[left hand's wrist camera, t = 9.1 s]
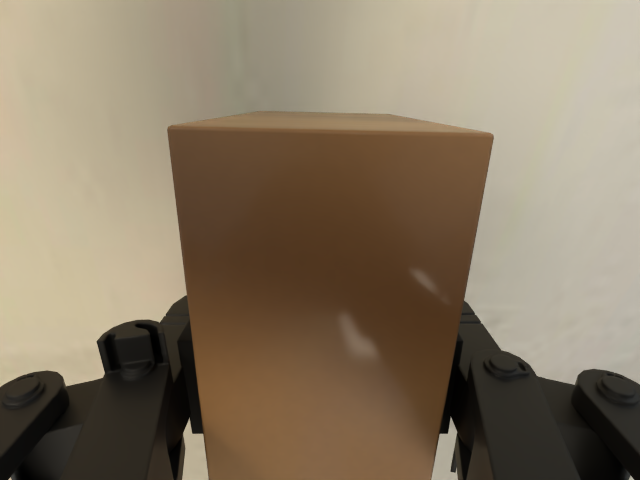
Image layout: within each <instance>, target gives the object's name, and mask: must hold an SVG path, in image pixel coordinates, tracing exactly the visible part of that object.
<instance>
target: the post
mask: <svg viewBox="0 0 640 480" xmlns="http://www.w3.org/2000/svg"><path fill="white" fill-rule="evenodd" d="M168 139H169V147H170V156H171V164H172V173H173V181H174V190H175V198H176V206H177V215H178V223H179V232H180V240H181V249H182V257H183V265H184V274H185V282H186V291H187V299H188V308H189V316H190V324H191V333H192V341H193V350H194V358H195V367H196V375H197V383H198V392H199V400H200V409H201V417H202V426H203V434H204V442H205V451H206V459H207V468H208V476H209V480H431V477H432V472H433V466H434V461H435V455H436V450H437V445H438V439H439V434H440V428H441V423H442V417H443V412H444V406H445V401H446V395H447V390H448V384H449V379H450V373H451V368H452V363H453V357H454V352H455V346H456V341H457V335H458V330H459V324H460V319H461V313H462V308H463V302H464V297H465V291H466V286H467V280H468V275H469V270H470V264H471V259H472V253H473V248H474V242H475V237H476V231H477V226H478V220H479V215H480V209H481V204H482V198H483V193H484V188H485V182H486V177H487V171H488V166H489V160H490V155H491V149H492V144H493V134H491V133H487V132H482V131H477V130H471V129H466V128H461V127H455V126H450V125H444V124H439V123H434V122H428V121H423V120H417V119H412V118H407V117H401V116H396V115H391V114H362V113H320V112H279V111H257V112H251V113H245V114H239V115H233V116H227V117H220V118H214V119H208V120H202V121H196V122H189V123H183V124H177V125H171V126H169V127H168Z"/></svg>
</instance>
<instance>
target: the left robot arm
mask: <svg viewBox="0 0 640 480" xmlns="http://www.w3.org/2000/svg"><path fill="white" fill-rule="evenodd" d="M97 345H98V348H99V352H100V356H101V360H102V363H103V367H104V371H105V375H104V377H103V378H101V379H97V380H94V381H89V382H84V383H80V384H75V385H71V386H66V385H65V382H64V379H63V377H62V376H61V375H60V374H59V373H58V372H53V371H40V372H33V373H30V374H27V375H23V376H20V377H18V378H16V379H14V380H12V381H10V382H8V383H6V384H4V385H3V386H1V387H0V480H8V479H9V478H10V477H11V479H12V480H182V475H183V465H184V456H185V443H184V437H183V432H184V430H185V427H186V425H187V422H188V420H189V417H190V422H191V428H192V434H203V426H202V417H201V409H200V400H199V392H198V383H197V375H196V367H195V358H194V350H193V341H192V333H191V324H190V316H189V308H188V299H187V296H184V297H183V298H181V299H180V300H178V301H177V302H176V303H174V304H173V305H172V306H171V308H170V309H169V311H168V312H167V313H166V316H164V318H163V319H162V320H161V322H160V323H159V322H156V321H152V320H135V321H131V322H126V323H123V324H121V325H118V326H116V327H113V328H112V329H110V330H109V331H107V332H105V333H104V334H103V335H102V336H101V337H100V338H99V339H98V341H97ZM451 417H452V420H453V422H454V425H455V427H456V430H457V437H456V443H455V448H454V454H453V459H452V465H451V472H456V467H457V474H458V480H629V477H630V475H631V476H632V477H633V479H634V480H640V385H639V384H638V383H636V382H634V381H632V380H630V379H628V378H626V377H624V376H622V375H620V374H617V373H614V372H610V371H606V370H597V369H591V370H584V371H583V372H581V373H580V374H579V375H578V377H577V380H576V383H575V385H572V384H568V383H563V382H558V381H554V380H549V379H545V378H541V377H538V376H536V374H535V372H534V371H533V369H532V368H531V366H530V365H529V364H528V363H526V362H525V361H524V360H522V359H521V358H520V357H517V356H515V355H513V354H511V353H509V352H505V351H501V349H500V348H499V346H498V345H497V344H496V342H495V341H494V339H493V338H492V337H491V335H490V334H489V332H488V331H487V330H486V328H485V327H484V325H483V324H481V321H480V320H479V318H478V317H477V316H476V315H475V313H474V311H473V310H472V309H471V307H470V306H469V304H468V303H467V302H465V301H464V302H463V308H462V313H461V319H460V324H459V330H458V335H457V341H456V346H455V352H454V357H453V363H452V368H451V373H450V379H449V384H448V390H447V395H446V401H445V406H444V412H443V417H442V423H441V428H440V434H448V429H449V423H450V418H451Z"/></svg>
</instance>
